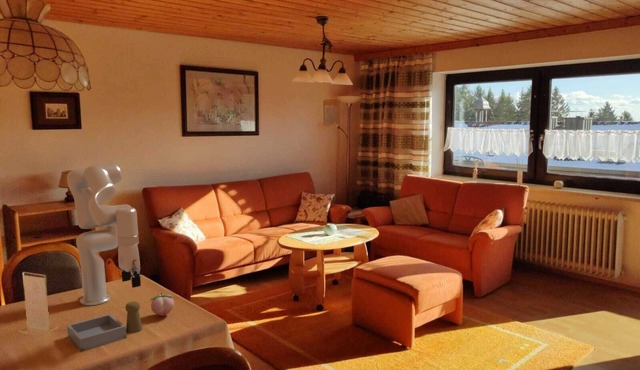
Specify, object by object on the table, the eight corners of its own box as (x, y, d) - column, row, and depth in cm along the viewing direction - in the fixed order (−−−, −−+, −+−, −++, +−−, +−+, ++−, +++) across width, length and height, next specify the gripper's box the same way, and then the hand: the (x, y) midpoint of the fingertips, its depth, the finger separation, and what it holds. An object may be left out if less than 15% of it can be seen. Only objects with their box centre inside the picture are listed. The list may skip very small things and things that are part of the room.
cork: (137, 333, 192) (135, 306, 191) (122, 332, 194) (120, 305, 192) (145, 326, 198) (143, 300, 197) (131, 325, 200) (129, 299, 198)
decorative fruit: (172, 310, 215) (171, 287, 213) (176, 317, 207) (175, 293, 206) (149, 314, 210) (148, 291, 209) (152, 321, 203) (151, 297, 202)
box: (68, 336, 190) (66, 325, 190) (111, 324, 201) (110, 313, 200) (81, 351, 178) (80, 339, 178) (126, 337, 189) (125, 326, 188)
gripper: (109, 238, 194) (113, 280, 197) (126, 246, 182) (130, 291, 184) (129, 234, 199) (132, 276, 202) (147, 242, 187) (150, 286, 189)
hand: (131, 283), depth 193 cm, fingers open, 9 cm apart
